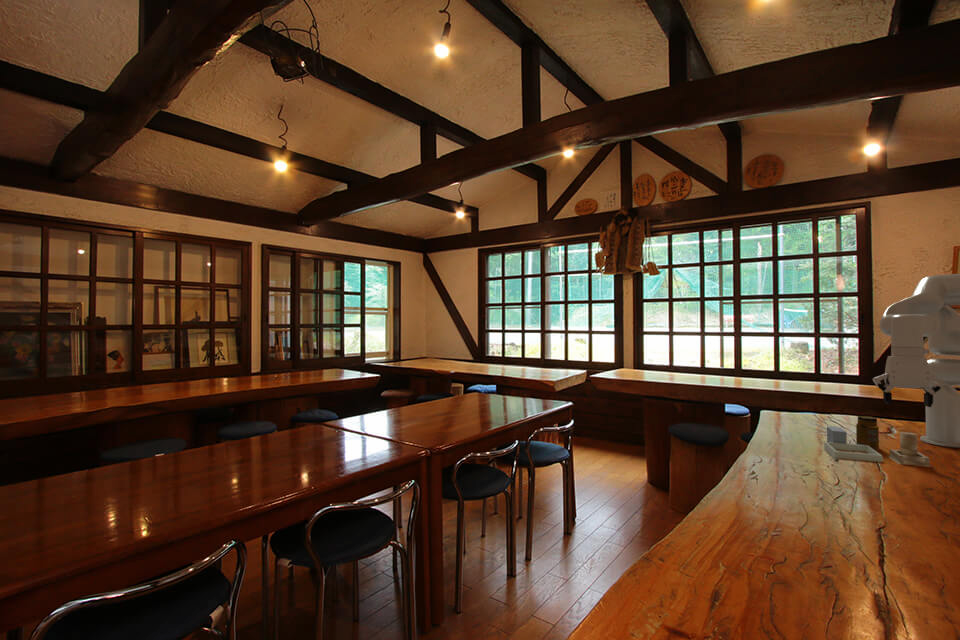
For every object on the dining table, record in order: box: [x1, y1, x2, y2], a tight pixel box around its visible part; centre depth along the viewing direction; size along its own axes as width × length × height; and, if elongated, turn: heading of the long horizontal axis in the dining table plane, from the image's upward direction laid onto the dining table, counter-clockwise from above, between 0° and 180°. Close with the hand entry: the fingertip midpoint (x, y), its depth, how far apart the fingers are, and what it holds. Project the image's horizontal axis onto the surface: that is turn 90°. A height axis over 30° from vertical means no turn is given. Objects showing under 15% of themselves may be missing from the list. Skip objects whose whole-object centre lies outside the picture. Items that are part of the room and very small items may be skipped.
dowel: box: [899, 431, 919, 457], centre depth 141 cm, size 4×4×9 cm
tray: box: [823, 441, 884, 463], centre depth 150 cm, size 12×12×3 cm
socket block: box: [887, 449, 932, 468], centre depth 141 cm, size 8×8×4 cm
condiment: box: [855, 415, 880, 451], centre depth 156 cm, size 7×8×12 cm
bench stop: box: [826, 425, 848, 444], centre depth 160 cm, size 4×7×7 cm, turn 155°
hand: (907, 405), depth 141 cm, fingers open, 9 cm apart
